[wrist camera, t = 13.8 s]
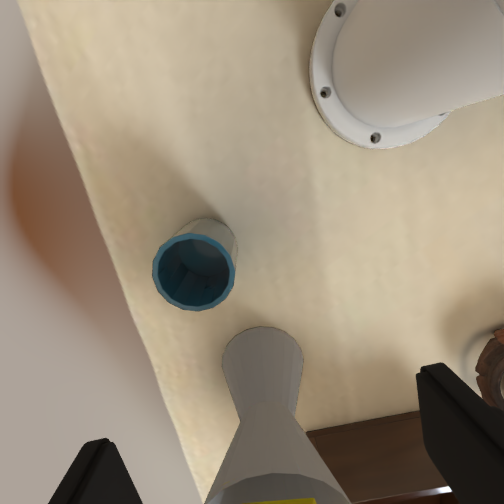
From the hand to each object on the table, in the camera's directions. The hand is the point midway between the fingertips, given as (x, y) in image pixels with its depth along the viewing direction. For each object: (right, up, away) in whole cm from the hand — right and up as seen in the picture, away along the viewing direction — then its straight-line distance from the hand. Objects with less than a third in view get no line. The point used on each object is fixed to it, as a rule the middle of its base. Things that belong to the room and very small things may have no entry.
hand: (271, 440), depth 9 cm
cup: (-5, +6, +18) cm, 20 cm away
